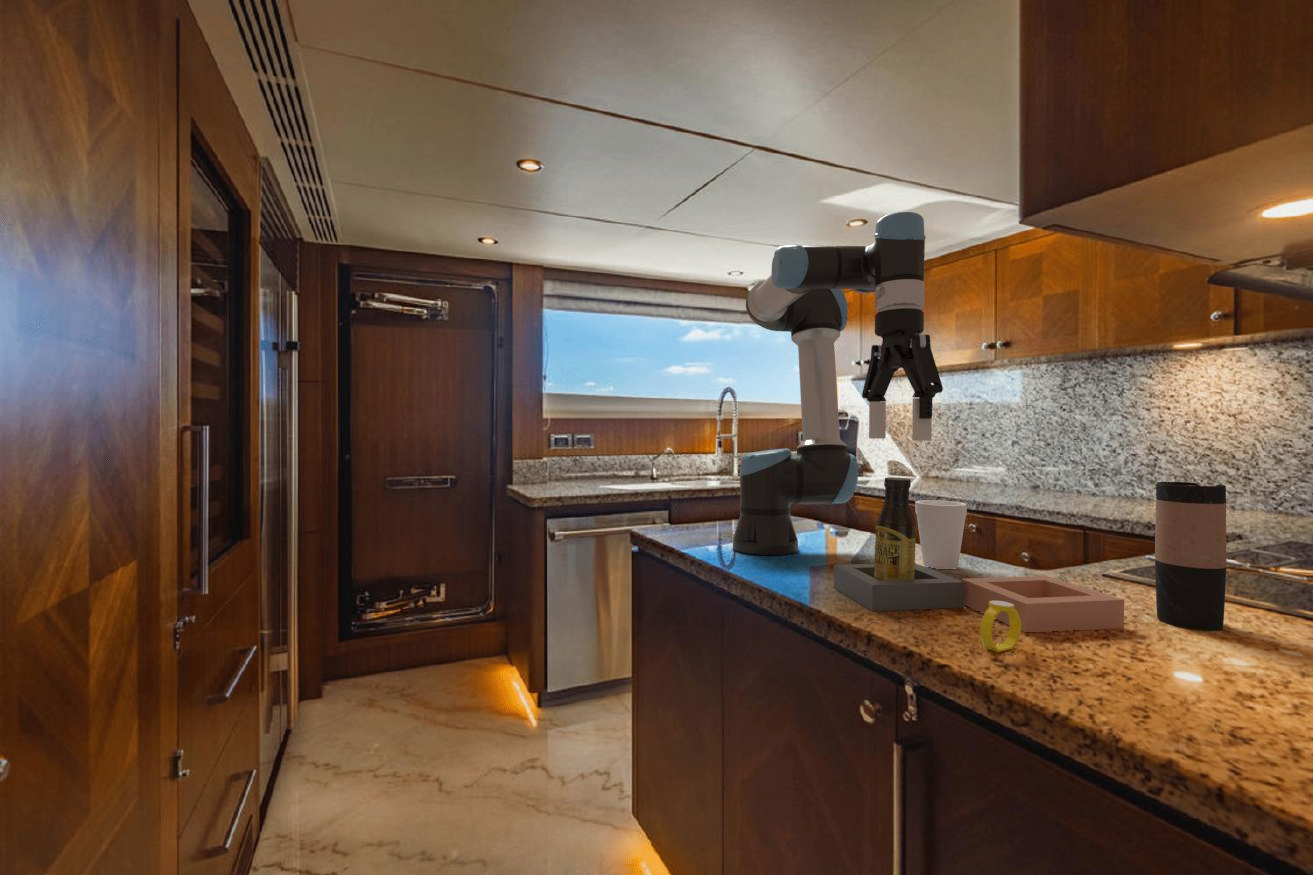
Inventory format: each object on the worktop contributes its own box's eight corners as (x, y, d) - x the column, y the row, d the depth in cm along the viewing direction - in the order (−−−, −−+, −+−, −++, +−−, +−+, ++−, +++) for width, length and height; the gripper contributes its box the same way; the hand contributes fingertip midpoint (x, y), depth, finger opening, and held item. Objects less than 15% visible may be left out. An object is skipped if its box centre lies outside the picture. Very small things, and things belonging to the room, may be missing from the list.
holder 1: (833, 587, 105) (833, 564, 105) (913, 584, 107) (913, 562, 107) (872, 611, 91) (872, 585, 91) (963, 607, 93) (963, 582, 93)
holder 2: (960, 603, 95) (961, 578, 95) (1046, 600, 97) (1046, 575, 97) (1025, 632, 81) (1025, 603, 81) (1123, 628, 83) (1124, 599, 83)
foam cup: (955, 562, 126) (955, 500, 125) (974, 572, 116) (974, 506, 116) (909, 561, 127) (909, 500, 126) (923, 571, 117) (924, 505, 117)
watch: (1004, 644, 78) (1007, 598, 78) (1025, 651, 75) (1028, 604, 75) (973, 648, 75) (976, 601, 75) (994, 655, 73) (997, 607, 73)
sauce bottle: (865, 594, 101) (866, 477, 101) (893, 590, 103) (893, 475, 103) (895, 604, 95) (895, 479, 95) (924, 599, 97) (924, 478, 97)
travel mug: (1162, 626, 84) (1163, 484, 84) (1148, 611, 91) (1149, 480, 91) (1235, 634, 80) (1236, 487, 80) (1214, 619, 87) (1215, 482, 87)
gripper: (843, 323, 110) (842, 437, 110) (921, 293, 85) (920, 441, 86) (881, 324, 111) (880, 437, 111) (969, 295, 86) (968, 441, 87)
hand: (898, 439), depth 99 cm, fingers open, 13 cm apart
